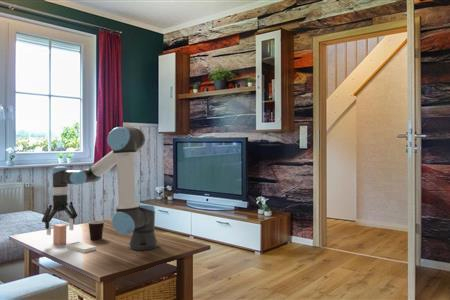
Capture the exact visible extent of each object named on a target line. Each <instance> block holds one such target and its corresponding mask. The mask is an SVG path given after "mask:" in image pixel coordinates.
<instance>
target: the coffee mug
mask: <svg viewBox="0 0 450 300" xmlns="http://www.w3.org/2000/svg"><path fill="white" fill-rule="evenodd" d="M104 225H105V221H103V220H93V221H89V222H88V229H89V239H90V240H91V241H100V240H102V239H103V233H104Z"/></svg>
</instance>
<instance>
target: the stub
mask: <svg viewBox="0 0 450 300" xmlns="http://www.w3.org/2000/svg"><path fill="white" fill-rule="evenodd" d="M52 226H53V229H52V230H53V233H52V234H53V237H52V238H53V240H52V241H53V242H52V243H54V244H56V245H59V246H60V245H65V244H66V243H67V224H64V223H56V224H53V225H52Z"/></svg>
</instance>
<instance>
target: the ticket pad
mask: <svg viewBox="0 0 450 300" xmlns="http://www.w3.org/2000/svg"><path fill="white" fill-rule="evenodd" d="M67 249H68V250H69V249H70V250H72V251H77V252H80V253H84V254H85V253H88V252H92V251H96V249H97V246H96V245H92V244H87V243H84V242H80V241H76V242H73V243H68V244H67Z"/></svg>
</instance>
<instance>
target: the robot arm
mask: <svg viewBox="0 0 450 300" xmlns="http://www.w3.org/2000/svg"><path fill="white" fill-rule="evenodd" d="M106 142H107V144H108V147H109V148H110V149H111V151H109V152H108V153H107V154H106V155H104V157H102V158H100V160H98V161H96V162H95V163H94V164H93V165H92V166H90V167H89V168H87V169H79V170H78V169H76V170H75V169H74V170H69V169H68V167H67V166H54V167H53V168H52V174H51V175H52V194H53V195H52V204H49V203H48V204H47V206H46V210H45V212H44V215H43V217H42V219H41V223H44V226H45V229H46V235H47V236H51V235H52V232H51V230H52V227H51V226H52V223H51V221H52V219H53V218H54V216H55V215H56V213H58V212H65V213H66V215H67V216H69V219H68V220H69V221H68V224H69V228H68V229H69V230H70V231H74V224H75V219H76V218H78V217H79V216H78V213H77V211H76V208H75V207H74V204H73V201H68V185H75V186H76V185H83V184H85V183H95V182H98V181H100V180H101V178H102V176H103V175H104V174H105V173H107V172H108V171H110V170H111V169H112V168H114V167H115V166H116V174H117V175H116V176H117V193H118V205H116V207H115V213H114V214H113V216H112V219H111V224H112V227H113V229H114V230H115V231H116V233H118V234H120V235H129V234H131V238H130V241H129V243H128V246H129V247H128V248H129V249H130V250H134V251H148V250H153V249H156V248H157V247H158V240H157V237H156V236H157V235H156V233H155V223H156V220H155V218H156V217H155V214H156V211H155V206H154V205H152V204H143V203H142V204H141V203H138V202H137V197H136V196H137V194H136V192H137V191H136V178H135V177H136V176H135V175H136V174H135V163H134V162H135V161H134V156H135V155H136V154H137V152H139V150H141V149H142V148H143V147H144V145H145V143H146V136H145V134H144V132H143V131H142V130H140V129H139V128H137V127H129V126H127V127H126V126H117V127H114V128H113V129H112V130H111V131H109V132H108V135H107V141H106Z"/></svg>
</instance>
